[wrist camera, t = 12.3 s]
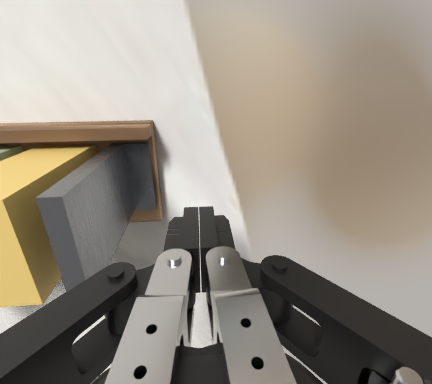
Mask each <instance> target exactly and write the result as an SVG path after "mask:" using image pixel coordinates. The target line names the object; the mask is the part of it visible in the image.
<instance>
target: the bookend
mask: <svg viewBox="0 0 432 384" xmlns="http://www.w3.org/2000/svg"><path fill="white" fill-rule="evenodd" d="M36 201H37V204H38V207H39V210H40V213H41V216H42V219H43V222H44V225H45V228H46V231H47V234H48V237H49V240H50V243H51V246H52V249H53V252H54V255H55V258H56V262H57V265H58V268H59V271H60V274H61V277H62V280H63V283H64V286H65V289H66V292H67V291H69V290H70V289H72V288H74V287H75V286H77V285H78V284H80V283H81V282H83V281H85V280H86V279H88V278H89V277H91V276H92V275H94V274H96V273H97V272H99V271H100V270H102V269H103V268H105V267H107V266H108V265H109V262H110V260H111V258H112V256H113V254H114V252H115V250H116V248H117V246H118V244H119V241H120V239H121V237H122V235H123V233H124V231H125V229H126V227H127V225H128V223H129V221H130V218H131V216H132V214H133V212H134V210H152V209H156V207H157V204H156V195H155V187H154V178H153V170H152V161H151V152H150V144H149V142H130V143H112V144H110V145H109V146H108V147H106V148H105V149H103V150H102V151H101V152H99V153H98V154H96V155H95V156H94V157H92V158H91V159H89V160H88V161H87V162H85V163H84V164H82V165H81V166H80V167H78V168H77V169H75V170H74V171H72V172H71V173H70V174H68V175H67V176H65V177H64V178H63V179H61V180H60V181H58V182H57V183H56V184H54V185H53V186H51V187H50V188H49V189H47V190H46V191H44V192H43V193H42V194H40V195H39V196H37V197H36Z"/></svg>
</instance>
